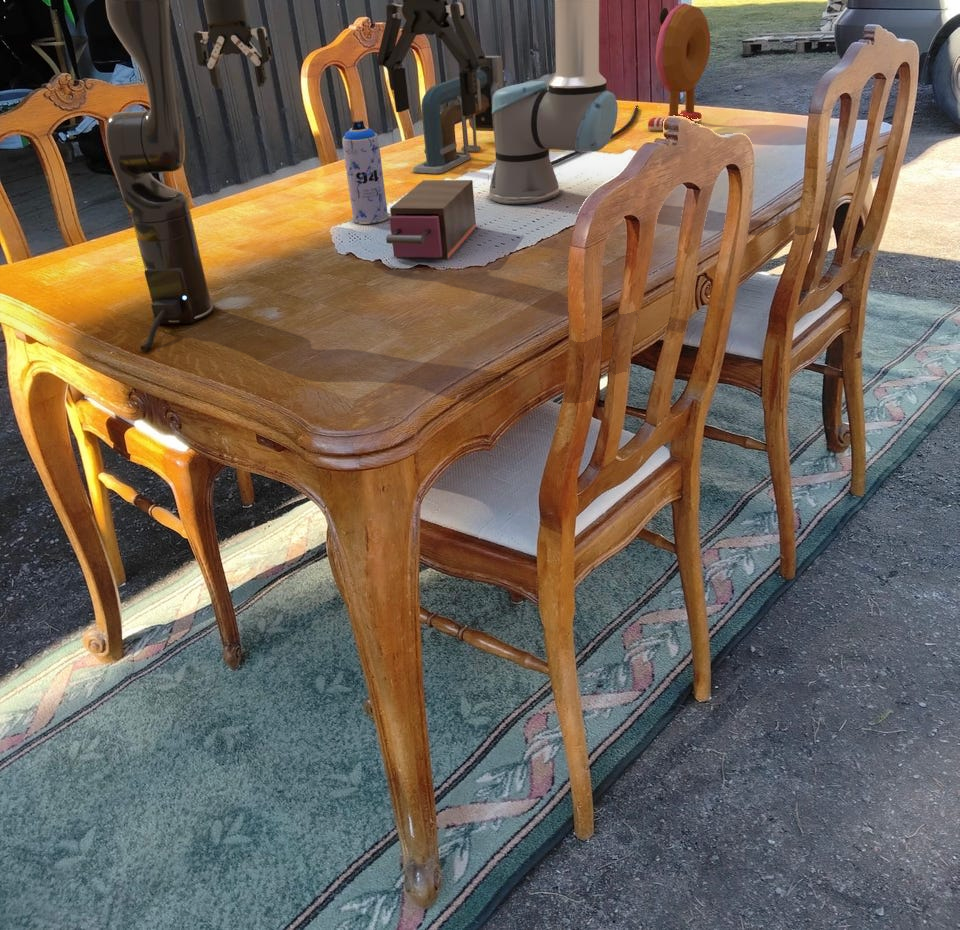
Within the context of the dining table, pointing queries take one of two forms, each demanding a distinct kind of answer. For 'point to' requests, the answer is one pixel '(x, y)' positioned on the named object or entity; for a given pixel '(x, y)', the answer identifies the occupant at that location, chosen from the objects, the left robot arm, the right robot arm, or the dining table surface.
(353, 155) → the aerosol can
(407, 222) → the drawer
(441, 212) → the cabinet
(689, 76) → the toy
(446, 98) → the clamp
